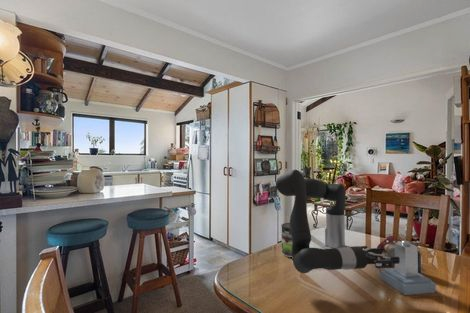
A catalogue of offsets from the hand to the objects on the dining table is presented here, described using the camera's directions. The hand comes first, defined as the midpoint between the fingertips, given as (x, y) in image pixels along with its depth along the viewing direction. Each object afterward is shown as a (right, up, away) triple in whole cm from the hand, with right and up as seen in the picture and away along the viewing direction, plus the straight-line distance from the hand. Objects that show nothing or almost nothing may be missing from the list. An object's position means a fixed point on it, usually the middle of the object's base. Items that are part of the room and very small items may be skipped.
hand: (389, 255), depth 93 cm
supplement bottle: (+16, -12, +11) cm, 22 cm away
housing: (+7, -8, +1) cm, 10 cm away
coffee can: (-29, -12, +32) cm, 45 cm away
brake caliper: (+15, -12, +24) cm, 31 cm away
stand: (+7, -12, +1) cm, 13 cm away
